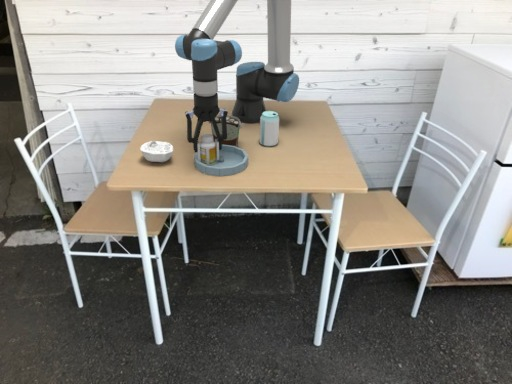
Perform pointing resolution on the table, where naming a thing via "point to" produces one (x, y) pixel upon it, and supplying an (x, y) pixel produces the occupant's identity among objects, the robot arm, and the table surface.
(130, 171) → the table surface
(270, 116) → the can
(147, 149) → the cell model
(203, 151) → the supplement bottle
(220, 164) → the ring tray
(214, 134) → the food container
